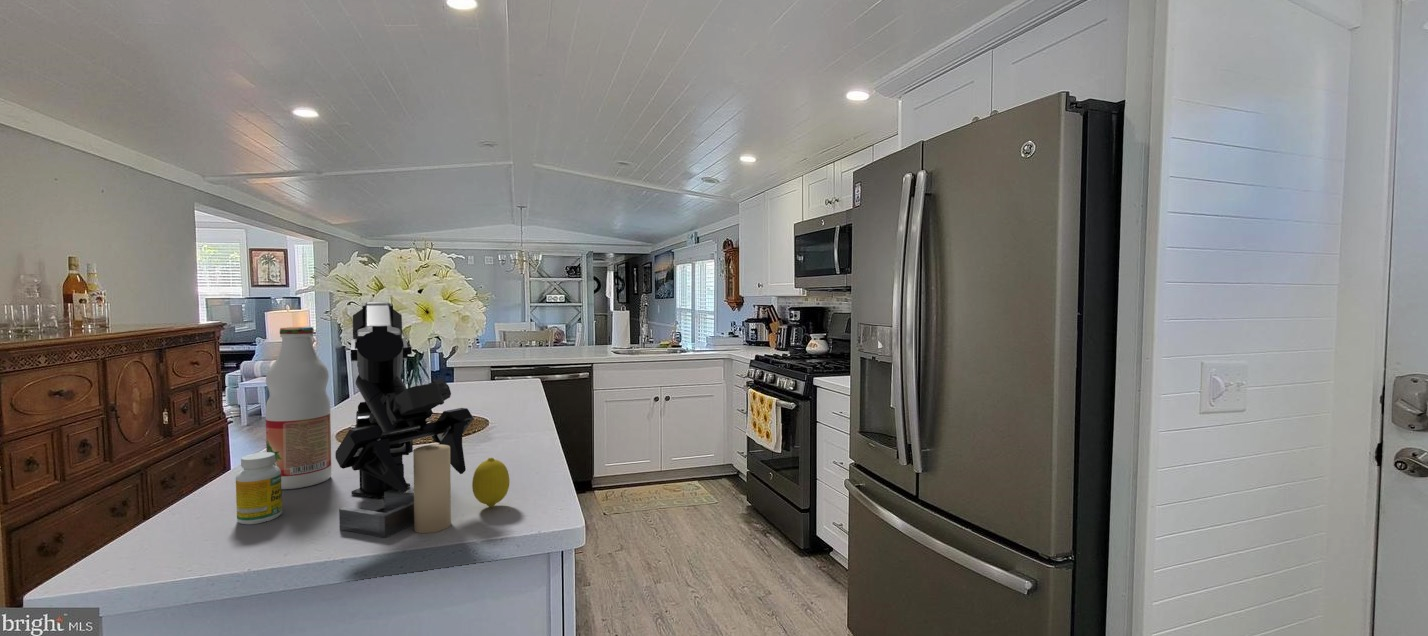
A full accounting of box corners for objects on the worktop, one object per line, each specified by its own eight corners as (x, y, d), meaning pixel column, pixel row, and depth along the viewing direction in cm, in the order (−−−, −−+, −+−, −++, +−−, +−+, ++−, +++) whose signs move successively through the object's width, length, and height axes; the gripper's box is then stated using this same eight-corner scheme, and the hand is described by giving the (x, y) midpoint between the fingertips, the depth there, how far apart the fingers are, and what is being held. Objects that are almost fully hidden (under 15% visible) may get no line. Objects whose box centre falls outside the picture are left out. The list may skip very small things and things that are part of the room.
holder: (339, 529, 82) (339, 509, 81) (389, 508, 90) (389, 489, 90) (384, 537, 79) (384, 516, 79) (432, 515, 87) (432, 496, 87)
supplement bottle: (243, 514, 87) (241, 453, 86) (286, 509, 89) (284, 449, 89) (231, 527, 82) (229, 462, 82) (277, 521, 84) (275, 458, 84)
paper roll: (406, 530, 81) (405, 451, 81) (432, 518, 86) (431, 443, 85) (433, 535, 80) (432, 454, 79) (458, 522, 84) (457, 446, 84)
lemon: (497, 515, 87) (496, 463, 87) (465, 512, 88) (464, 461, 88) (516, 502, 93) (516, 454, 92) (486, 499, 94) (485, 452, 93)
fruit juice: (315, 489, 98) (311, 328, 97) (254, 491, 97) (250, 328, 96) (341, 472, 108) (338, 325, 107) (286, 474, 106) (283, 326, 105)
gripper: (345, 370, 76) (396, 464, 71) (465, 358, 92) (514, 433, 87) (314, 422, 80) (361, 514, 75) (434, 401, 96) (479, 475, 91)
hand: (435, 480), depth 82 cm, fingers open, 9 cm apart
